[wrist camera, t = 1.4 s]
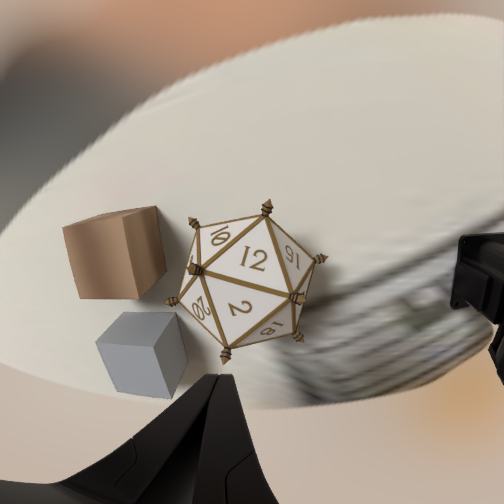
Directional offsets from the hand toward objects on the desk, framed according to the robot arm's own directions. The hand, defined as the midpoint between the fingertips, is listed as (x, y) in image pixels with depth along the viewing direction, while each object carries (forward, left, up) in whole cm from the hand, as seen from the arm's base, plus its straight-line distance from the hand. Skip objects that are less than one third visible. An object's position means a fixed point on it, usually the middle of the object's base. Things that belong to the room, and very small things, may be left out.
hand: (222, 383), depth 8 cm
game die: (0, 0, -13) cm, 13 cm away
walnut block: (+9, -2, -12) cm, 16 cm away
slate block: (+9, +6, -12) cm, 17 cm away
